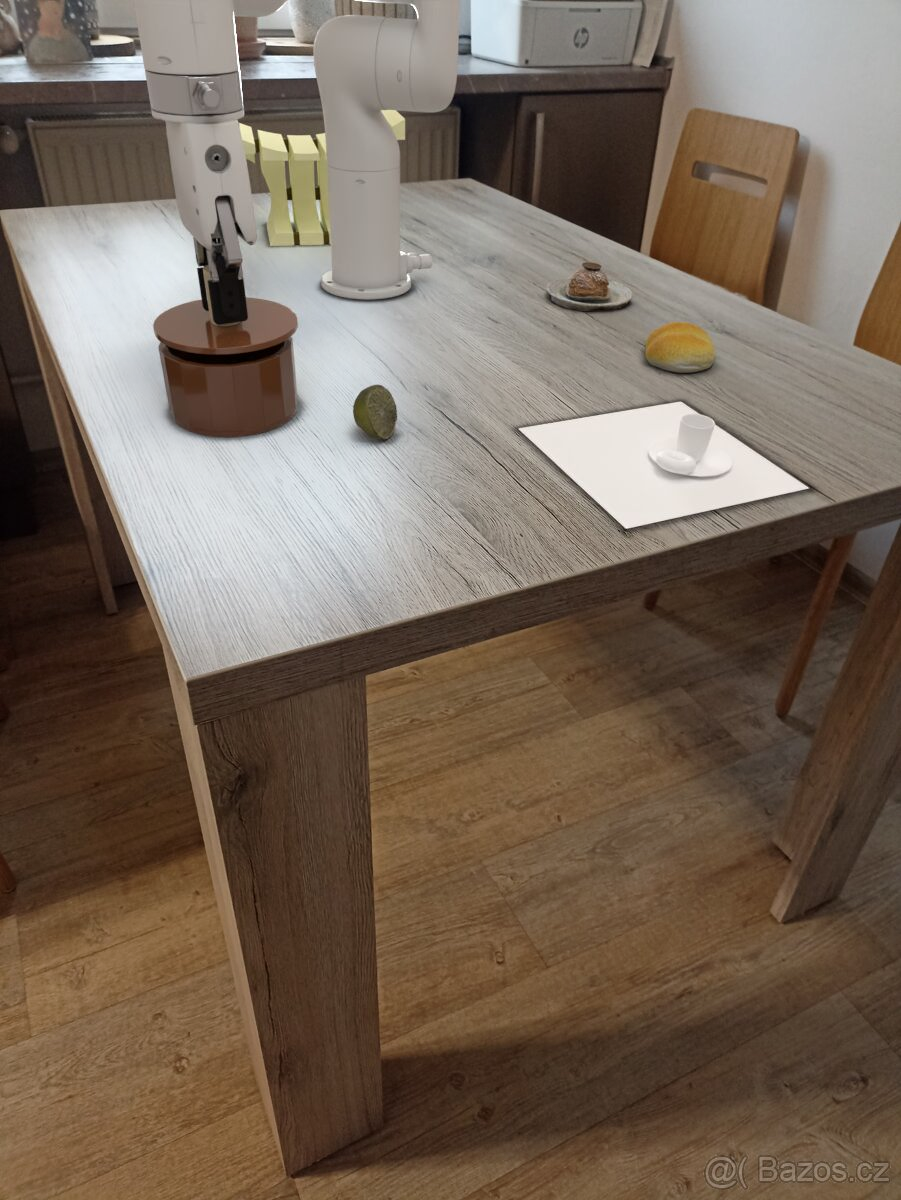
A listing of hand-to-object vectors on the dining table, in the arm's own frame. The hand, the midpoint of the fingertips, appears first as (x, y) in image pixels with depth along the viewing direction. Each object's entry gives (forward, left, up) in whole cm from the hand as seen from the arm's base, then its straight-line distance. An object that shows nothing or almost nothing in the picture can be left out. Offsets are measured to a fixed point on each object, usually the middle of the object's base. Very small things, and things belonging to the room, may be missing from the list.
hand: (225, 313), depth 82 cm
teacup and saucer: (-34, +26, -10) cm, 44 cm away
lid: (0, 0, -1) cm, 1 cm away
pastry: (-55, -16, -10) cm, 58 cm away
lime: (-11, +11, -10) cm, 19 cm away
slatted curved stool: (-30, -62, -10) cm, 69 cm away
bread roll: (-52, +7, -10) cm, 53 cm away
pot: (0, 0, -10) cm, 10 cm away
